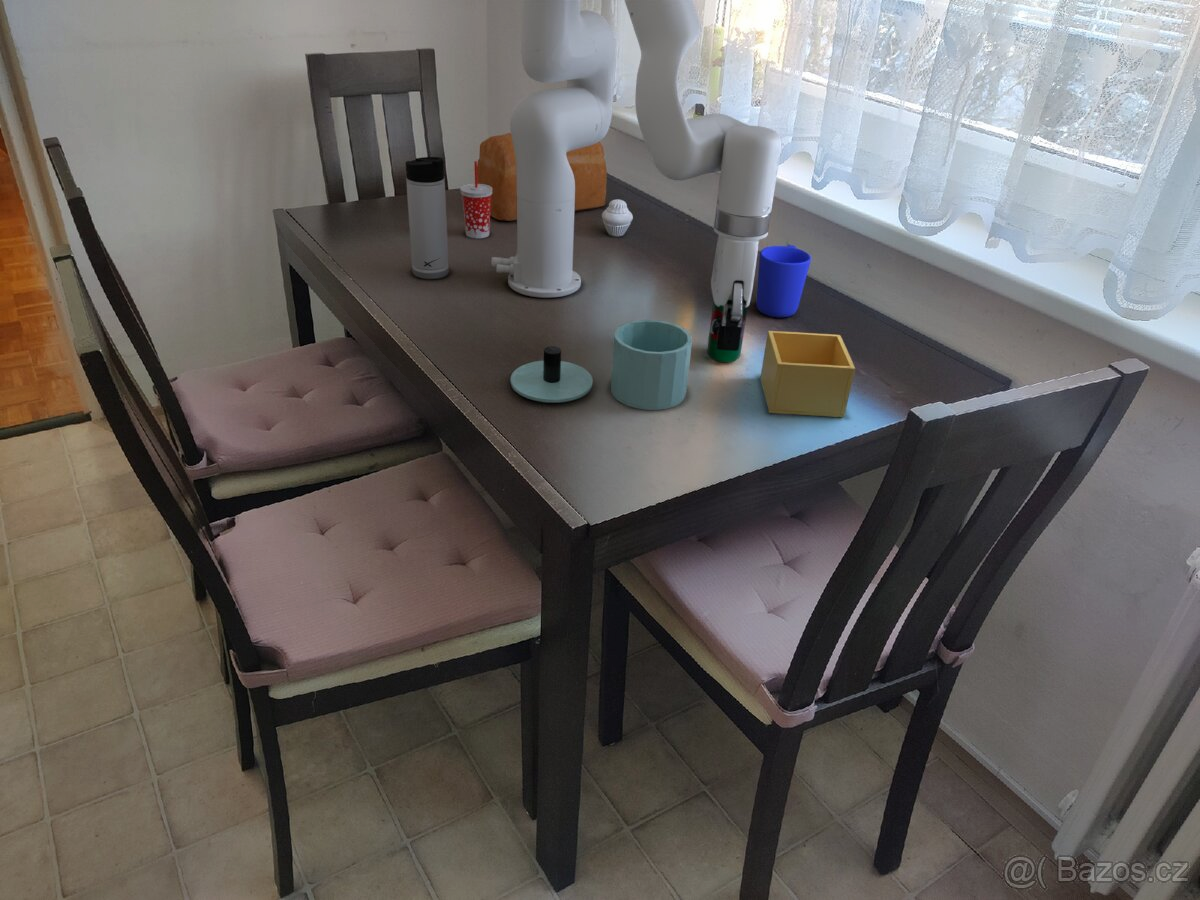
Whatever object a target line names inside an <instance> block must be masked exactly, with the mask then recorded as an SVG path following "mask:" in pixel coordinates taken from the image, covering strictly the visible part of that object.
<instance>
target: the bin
mask: <svg viewBox="0 0 1200 900" xmlns="http://www.w3.org/2000/svg"><path fill="white" fill-rule="evenodd" d="M855 373H856V367H855V364H854V363H853V360H852V357H851V356H850V353H849V351H848V349H847V346H846V344H845V342H844V340H843V338H842V336H841V334H834V333H833V334H830V333H817V332H815V333H813V332H798V331H780V330H768V331H767V335H766V341H765V347H764V353H763V359H762V366H761V371H760V376H759V377H760V382H761V386H762V389H763V394H764V397H765V401H766V406H767V409H768V413H769V414H781V415H798V416H813V417H814V416H815V417H818V416H819V417H832V418H845V416H846V411H847V407H848V402H849V398H850V394H851V389H852V385H853V381H854V377H855Z"/></svg>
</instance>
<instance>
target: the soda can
mask: <svg viewBox="0 0 1200 900" xmlns="http://www.w3.org/2000/svg"><path fill="white" fill-rule="evenodd" d="M732 290H733V288H732ZM727 304H732V300H728V301H727ZM748 308H749V306H748V307H746V308H744V306H743V315H742V329H741V336H740V343H739V349H738V350H737V351H731V350H718V349H717V346H716V345H717V338H718V330H719V323H722V313H723V306H722V305H720V307H718V306H716V304H715V303H714V299H713V298H712V308H711V316H710V323H709V331H708V340H707V347H706V354H707V356H708V357H709V358H710V359H711V360H712V361H714V362H716V363H719V364H720V363H721V364H732V363H734V362H736V361H737V360H739V359H740V358H741V356H742V355H741V354H742V349H743V341H744V335H745V328H746V327H745V326H746V321H747V315H748ZM728 313H731V309H727V315H728Z"/></svg>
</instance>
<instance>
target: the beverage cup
mask: <svg viewBox="0 0 1200 900" xmlns="http://www.w3.org/2000/svg"><path fill="white" fill-rule="evenodd" d="M473 162H474V183H468V184H464V185H461V186H460V188H459V190H460V195H461V198H462V209H463V219H464V229H465V230H464V231H465V236H466V237H468V238H471V239H485V238H488V237H489V236H490V234H491V233H490V231H491V228H490V227H491V216H490V210H491V194H492V191H493V189H492V187H490V186H488V185H485V184H478V183H477V163H478V160H475V161H473Z"/></svg>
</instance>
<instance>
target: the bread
mask: <svg viewBox="0 0 1200 900" xmlns="http://www.w3.org/2000/svg"><path fill="white" fill-rule="evenodd" d="M478 155H479V156H478V159H477V183H478V184H485V185H488V186H490V187H492V189H493V191H492V194H491V210H490V217H492V218H493V219H495V220H498V221H501V222H502V221H504V222H505V221H506V222H511V221H517V173H516V159H515V152H514V146H513V141H512V136H511V132H507V133H504V134H500V135H499V134H498V135H492V136H489V137H488V138H486V139H485V140H483V141H482V142H481V143H480V144H479V154H478ZM566 157H567V160H568V163H569V165H570V167H571V169H572V172H573V175H574V179H575V209H574V212H579V211H586V210H592V209H598V208H601V207H605V205H606V197H607V182H608V181H607V180H608V179H607V177H608V171H607V163H606V160H605V149H604V146H603V144H602V143H601V141H600V142H598V143H596V144H594V145H591V146H588V147H584V148H580V149H575V150H572V151H569V152H566Z"/></svg>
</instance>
